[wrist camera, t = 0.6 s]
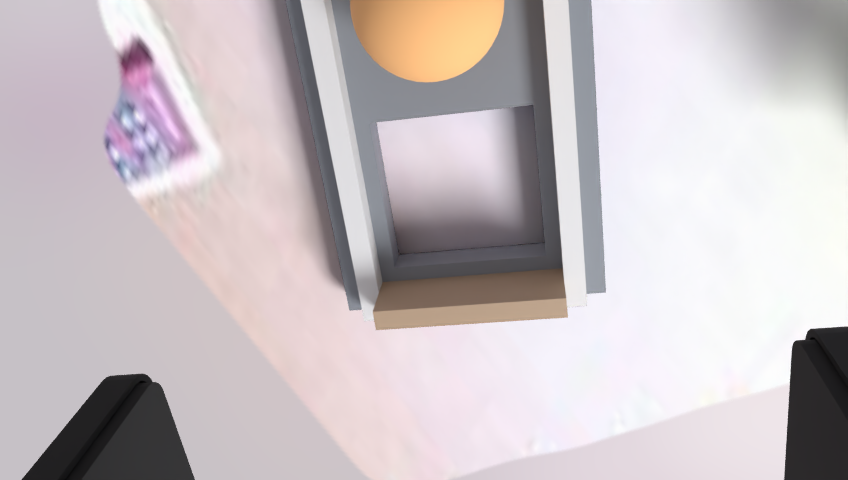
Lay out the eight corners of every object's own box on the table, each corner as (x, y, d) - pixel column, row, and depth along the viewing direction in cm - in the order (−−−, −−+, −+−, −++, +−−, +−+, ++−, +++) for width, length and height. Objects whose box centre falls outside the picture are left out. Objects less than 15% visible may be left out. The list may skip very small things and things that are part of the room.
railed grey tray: (273, -110, 33) (238, -110, 29) (580, -160, 31) (589, -167, 27) (355, 296, 41) (337, 341, 37) (602, 278, 39) (613, 323, 35)
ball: (353, -71, 32) (320, -62, 26) (497, -93, 31) (493, -89, 25) (377, 72, 34) (351, 107, 29) (511, 56, 33) (510, 89, 28)
